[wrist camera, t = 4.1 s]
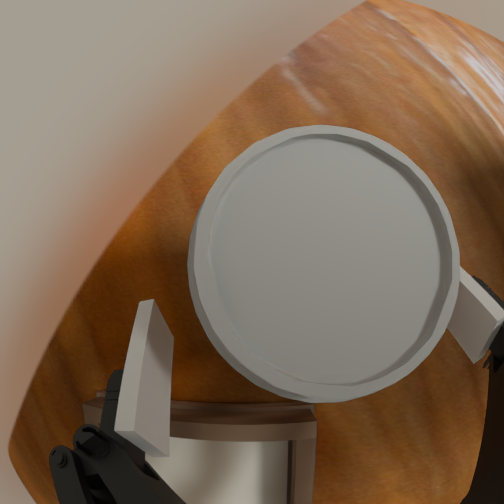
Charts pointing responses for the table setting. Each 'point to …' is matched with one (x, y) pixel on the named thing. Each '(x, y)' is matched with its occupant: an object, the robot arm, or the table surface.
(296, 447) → the holder
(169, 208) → the table surface
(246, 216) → the disposable coffee cup
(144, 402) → the robot arm
